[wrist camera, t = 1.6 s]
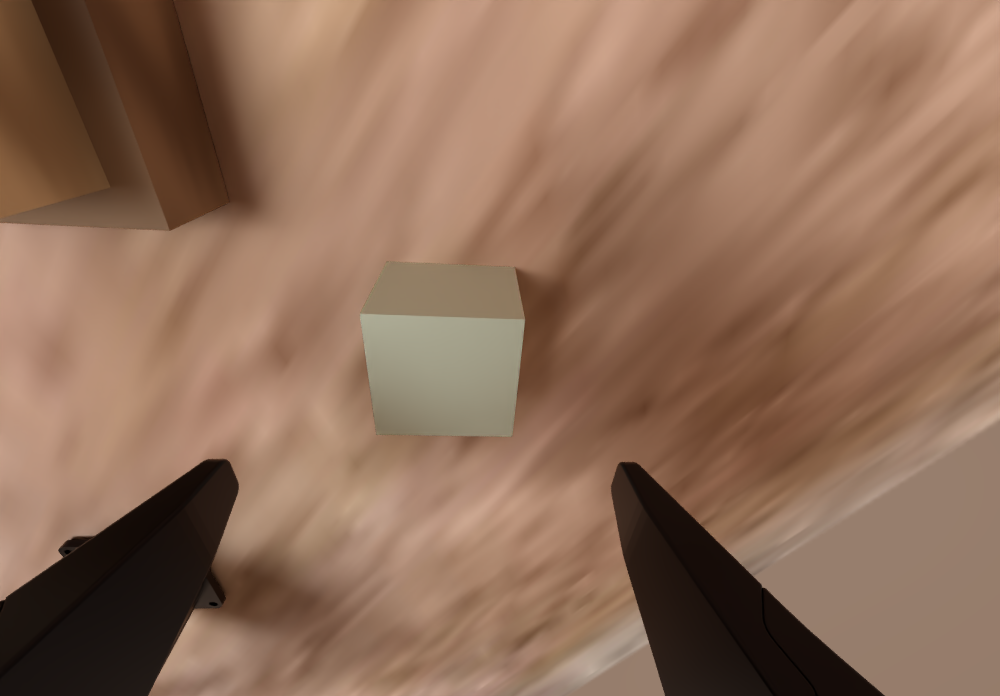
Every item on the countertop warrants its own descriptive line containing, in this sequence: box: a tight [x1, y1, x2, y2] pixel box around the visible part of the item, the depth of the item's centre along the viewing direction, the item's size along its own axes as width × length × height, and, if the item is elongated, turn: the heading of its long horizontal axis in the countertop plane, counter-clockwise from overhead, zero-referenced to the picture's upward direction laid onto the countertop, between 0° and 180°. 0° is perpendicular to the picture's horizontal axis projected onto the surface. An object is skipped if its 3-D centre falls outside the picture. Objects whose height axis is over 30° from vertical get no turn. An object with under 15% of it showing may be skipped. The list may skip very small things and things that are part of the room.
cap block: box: [360, 261, 525, 437], centre depth 14 cm, size 4×4×4 cm
